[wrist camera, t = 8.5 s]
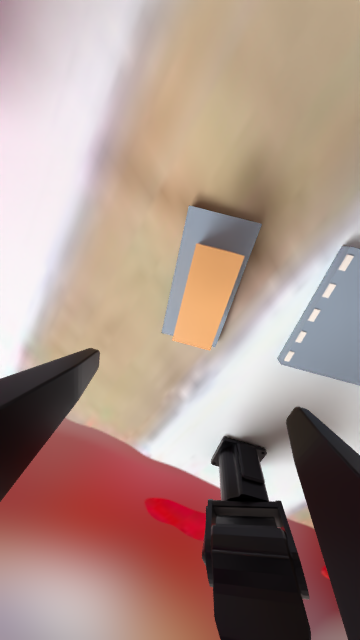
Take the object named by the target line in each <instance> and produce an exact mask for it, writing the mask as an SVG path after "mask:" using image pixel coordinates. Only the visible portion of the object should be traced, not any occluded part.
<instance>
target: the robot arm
mask: <svg viewBox="0 0 360 640" xmlns="http://www.w3.org/2000/svg"><path fill="white" fill-rule="evenodd" d="M99 357H100V352H99V350H96V349H93V348H88V349H85V350H83V351H80V352H77V353H74V354H71V355H68V356H65V357H62V358H59V359H56V360H54V361H51V362H48V363H45V364H42V365H39V366H36V367H33V368H30V369H27V370H25V371H22V372H19V373H16V374H13V375H10V376H7V377H4V378H1V379H0V502H1V500H2V499H3V498H4V496H5V495H6V494H7V492H8V491H9V490H10V489H11V487H12V486H13V485H14V483H15V482H16V480H17V479H18V478H19V477H20V475H21V474H22V473H23V472H24V470H25V469H26V468H27V466H28V465H29V464H30V463H31V461H32V460H33V459H34V457H35V456H36V455H37V453H38V452H39V451H40V449H41V448H42V447H43V445H44V444H45V443H46V442H47V440H48V439H49V438H50V437H51V435H52V434H53V433H54V431H55V430H56V429H57V427H58V426H59V425H60V424H61V422H62V421H63V419H64V418H65V417H66V416H67V414H68V413H69V412H70V411H71V409H72V408H73V407H74V405H75V404H76V403H77V401H78V400H79V398H80V397H81V395H82V394H83V392H84V390H85V389H86V387H87V386H88V384H89V382H90V381H91V379H92V377H93V376H94V374H95V373H96V371H97V369H98V367H99ZM286 425H287V430H288V434H289V439H290V444H291V448H292V453H293V458H294V462H295V466H296V469H297V473H298V476H299V479H300V482H301V486H302V489H303V492H304V496H305V499H306V502H307V506H308V509H309V512H310V515H311V519H312V522H313V525H314V529H315V532H316V535H317V538H318V542H319V545H320V548H321V552H322V555H323V558H324V561H325V565H326V568H327V571H328V575H329V578H330V581H331V584H332V588H333V591H334V594H335V598H336V601H337V604H338V608H339V611H340V614H341V617H342V621H343V624H344V627H345V631H346V634H347V637H348V640H360V455H359V454H358V453H356V452H355V451H354V450H353V449H352V448H351V447H350V446H349V445H347V444H346V443H345V442H344V441H343V440H342V439H341V438H339V437H338V436H337V435H336V434H335V433H334V432H333V431H331V430H330V429H329V428H328V427H327V426H326V425H325V424H323V423H322V422H321V421H320V420H319V419H318V418H317V417H316V416H314V415H313V414H312V413H311V412H310V411H309V410H307V409H305V408H301V407H295V408H294V409H293V411H292V412H291V414H290V415H289V416H288V418H287V420H286ZM266 454H267V452H266V449H264V448H261V447H258V446H254V445H251V444H247V443H243V442H240V441H236V440H233V439H229V438H223V439H222V441H221V443H220V445H219V446H218V448H217V450H216V452H215V454H214V456H213V457H212V459H211V464H212V465H215V466H219V473H220V488H221V500H213V499H209V500H208V506H206V529H205V536H204V543H203V550H202V559H203V561H204V563H205V565H206V569H207V574H208V581H209V584H210V586H211V587H213V596H214V616H215V621H216V625H217V629H218V632H219V635H220V639H221V640H311V631H310V626H309V623H308V619H307V615H306V611H305V607H304V604H303V600H302V598H303V599H309V594H308V589H307V584H306V581H305V577H304V573H303V569H302V566H301V562H300V559H299V556H298V553H297V549H296V546H295V543H294V540H293V537H292V534H291V531H290V527H289V524H288V521H287V518H286V515H285V512H284V509H283V506H282V503H281V501H276V502H269V499H268V495H267V491H266V487H265V483H264V482H265V481H264V477H263V473H262V469H261V465H260V462H261V460H262V459H263V458H264V457H265V455H266ZM277 527H279V528H277Z"/></svg>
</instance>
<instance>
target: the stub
mask: <svg viewBox="0 0 360 640" xmlns="http://www.w3.org/2000/svg"><path fill="white" fill-rule="evenodd" d="M261 225H262V224H260V223H257V222H253V221H249V220H245V219H241V218H237V217H233V216H229V215H225V214H221V213H217V212H213V211H209V210H205V209H201V208H197V207H193V206H189V208H188V212H187V217H186V222H185V226H184V231H183V236H182V240H181V245H180V250H179V254H178V259H177V263H176V268H175V273H174V277H173V282H172V287H171V291H170V296H169V301H168V305H167V310H166V315H165V319H164V324H163V329H162V333H164V334H168V335H172V336H173V339H172V340H173V341H176V342H180V343H184V344H188V345H191V346H195V347H199V348H202V349H206V350H210V349H211V347H212V346H213V347H216V344H217V341H218V339H219V336H220V334H221V331H222V328H223V326H224V323H225V320H226V318H227V315H228V312H229V310H230V307H231V305H232V302H233V299H234V297H235V294H236V291H237V289H238V286H239V283H240V281H241V278H242V275H243V273H244V270H245V268H246V265H247V262H248V260H249V257H250V254H251V252H252V249H253V246H254V244H255V241H256V238H257V236H258V233H259V231H260V228H261Z"/></svg>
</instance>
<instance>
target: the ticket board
mask: <svg viewBox="0 0 360 640" xmlns="http://www.w3.org/2000/svg"><path fill="white" fill-rule="evenodd" d="M277 359H278V361H279V362H280V364H282V365H285V366H289V367H293V368H296V369H300V370H304V371H308V372H311V373H315V374H319V375H323V376H326V377H330V378H334V379H337V380H341V381H345V382H349V383H352V384H356V385H360V249H358V248H354V247H348V246H342V247H341V249H340V251H339V252H338V254H337V256H336V258H335V259H334V261H333V263H332V265H331V266H330V268H329V270H328V272H327V273H326V275H325V277H324V278H323V280H322V282H321V284H320V285H319V287H318V289H317V291H316V292H315V294H314V296H313V298H312V299H311V301H310V303H309V305H308V306H307V308H306V310H305V311H304V313H303V315H302V317H301V318H300V320H299V322H298V324H297V325H296V327H295V329H294V331H293V332H292V334H291V336H290V338H289V339H288V341H287V343H286V344H285V346H284V348H283V350H282V351H281V353H280V355H279V357H278V358H277Z"/></svg>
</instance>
